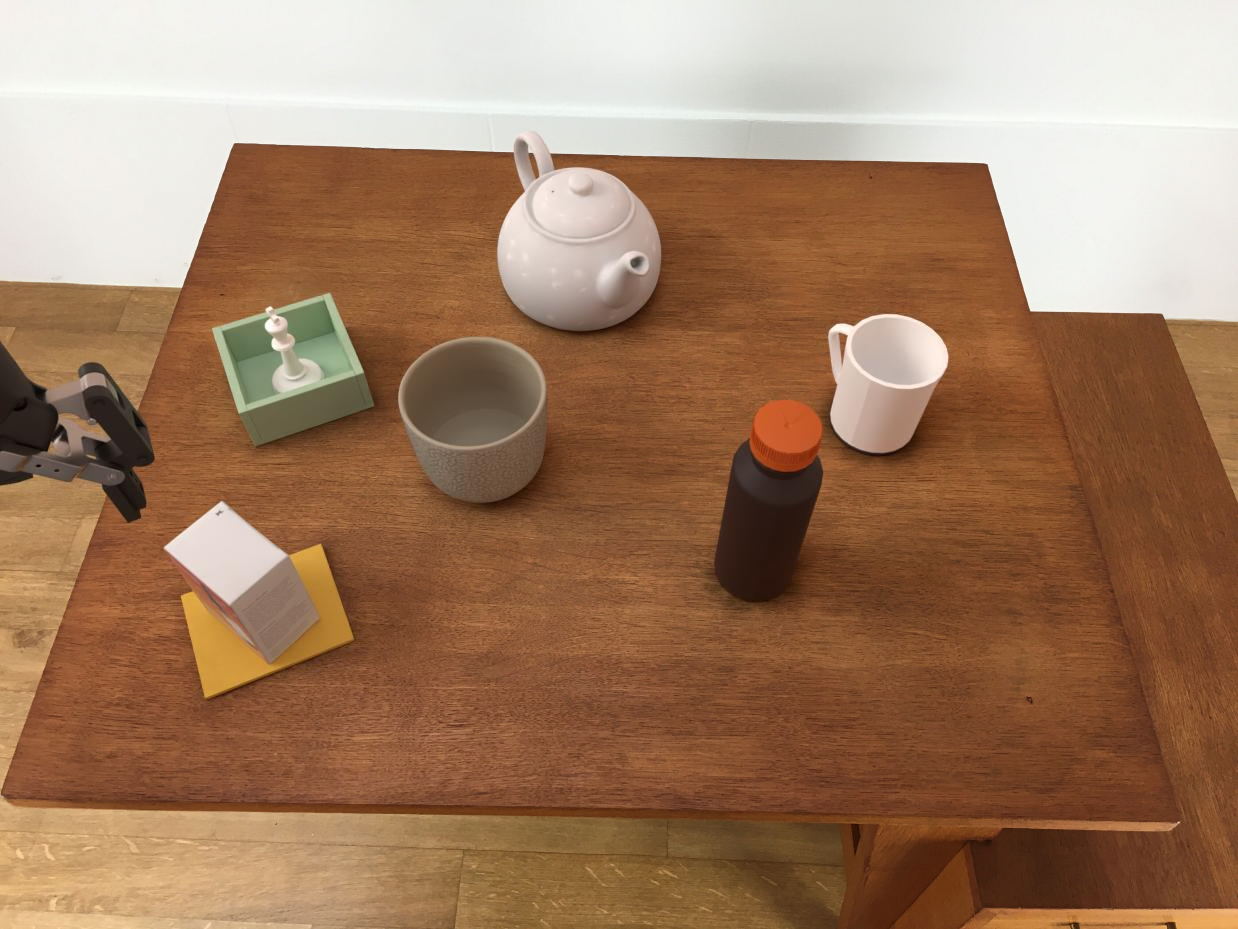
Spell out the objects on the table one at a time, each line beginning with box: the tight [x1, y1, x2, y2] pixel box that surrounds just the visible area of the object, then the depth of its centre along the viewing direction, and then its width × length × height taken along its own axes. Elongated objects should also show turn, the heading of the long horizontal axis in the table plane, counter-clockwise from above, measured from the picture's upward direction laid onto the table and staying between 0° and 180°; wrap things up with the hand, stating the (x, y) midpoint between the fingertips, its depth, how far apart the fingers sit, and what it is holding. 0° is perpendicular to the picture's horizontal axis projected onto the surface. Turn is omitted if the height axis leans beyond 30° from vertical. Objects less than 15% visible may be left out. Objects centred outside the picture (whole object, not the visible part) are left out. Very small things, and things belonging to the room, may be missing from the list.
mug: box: [827, 313, 949, 456], centre depth 89 cm, size 11×9×10 cm
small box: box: [162, 500, 320, 664], centre depth 76 cm, size 8×6×10 cm
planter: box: [397, 336, 549, 504], centre depth 85 cm, size 12×12×11 cm
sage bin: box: [211, 292, 375, 447], centre depth 93 cm, size 12×12×5 cm
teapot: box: [496, 130, 662, 332], centre depth 99 cm, size 19×18×14 cm
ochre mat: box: [180, 543, 355, 701], centre depth 80 cm, size 12×10×1 cm
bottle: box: [713, 399, 824, 602], centre depth 75 cm, size 7×7×20 cm
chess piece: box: [265, 306, 324, 394], centre depth 91 cm, size 5×5×10 cm
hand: (54, 536), depth 54 cm, fingers open, 8 cm apart
